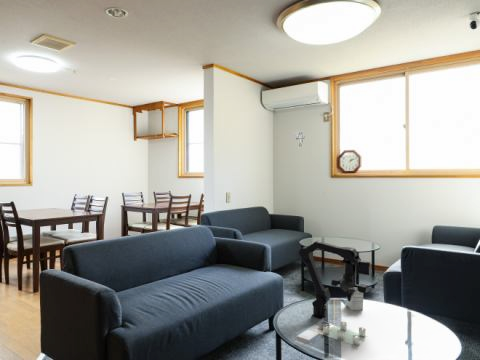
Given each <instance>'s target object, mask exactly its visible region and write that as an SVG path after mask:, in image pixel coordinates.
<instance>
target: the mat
mask: <svg viewBox="0 0 480 360" xmlns="http://www.w3.org/2000/svg"><path fill="white" fill-rule="evenodd" d="M329 324H330V323H329ZM329 327H330V329H329V335H328V336H326V335H324V334H323V331H321V330H320V329H319V327H318V328H316V329H315V330H313V332H315V333H317V334H320V335H321V336H326V337H328V338H331V339H334V340H337V341H339V340H338V330H340V326H336V325H335V324H330V326H329ZM353 335H357V336H359V332H355V331H352V330H349V329H346V331H344V340H343V341H341V342H342V343H345V344H348V345H352V346H354V345H353ZM367 337H368V336H367V335H365V338H362V337H360V341H359V345H361V343H362V342H363V341H365V339H366V338H367Z"/></svg>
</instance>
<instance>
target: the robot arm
mask: <svg viewBox="0 0 480 360" xmlns="http://www.w3.org/2000/svg"><path fill="white" fill-rule="evenodd" d="M316 250H320V251H323V252H328V253H331V254H334V255H337V256H339V257H340V258H342V260H341V261H340V263H341V264H344V273H343V276H342V278H338V277H337V278H336V277H335V278H332V279H331V281H330V285H331V286H332V287H333V286H334V287H337V286H339V288H340V290H343V291H344V293H345V296H346V300H347V299H348V301H349V302H350V301H351V299H352V297H353V294H354V293H355V291H357V290H358V291H359V292H361V293H363V294H367V293H368V292H369V291H370V286H369V285H368V284H363V283H361V284H357V281H356V280H357V279H356V278H357V276H358V274H359V275H364V276H371V275H372V269H373V267H372V264H371V261H364V260H362V259H361V257H360V256H359V254H358V250H356V248H355V247H349V246H337V245H334V244H330V243H327V242H323V241H320V240H316V241H314V242H313V243H311V244H310V245H308V246H303V247H301V248H300V249H299V250H298V256H299V257H300V259H301V261H302V262H304V264H305V265H306V268H307V270H308V273H309V275H310V279H311V282H312V284H313V287H314V289H315V290H314V291H315V292H314V294H315V300H313V302H312V303H311V304H312V307H313V308H312V310H313V311H312V314H311V316H312V317H314V318H316V319H319V320H321V319H324V318H326V317H327V315H328V314H327V313H328V309H327V305H326V304H327V303H328V302H329V301H330V300H331V293H330V291H329V287H325V286H324V284H323V282H322V279H321V277H320V274H319V271H318V269H317V267H316V264H315V262H314V261H315V259H314V252H315V251H316ZM350 288H351V289H350Z"/></svg>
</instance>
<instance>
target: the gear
mask: <svg viewBox="0 0 480 360" xmlns="http://www.w3.org/2000/svg"><path fill="white" fill-rule="evenodd" d="M325 325H326V326H330V322H328V321H327V320H320V321H318V328H319V329H320V330H321V331H323V326H325Z"/></svg>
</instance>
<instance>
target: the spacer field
mask: <svg viewBox="0 0 480 360" xmlns="http://www.w3.org/2000/svg"><path fill="white" fill-rule="evenodd" d="M347 325H348V324H347V322H346V321H340V323H339V327H340V330H338V340H337V341H339V342H342V341H343V340H344V331H346V330H347V327H348V326H347ZM329 329H330V327H329V326H326V325H325V326H323V334H324V335H323V336H325V335H326V337H328V335H329ZM358 333H359V336H357V335H353V345H352V346H354V347H359V346H360V344H359V341H360V337H362V338H365V336H366V328H365V327H363V326H362V327H358ZM365 339H366V338H365Z"/></svg>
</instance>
